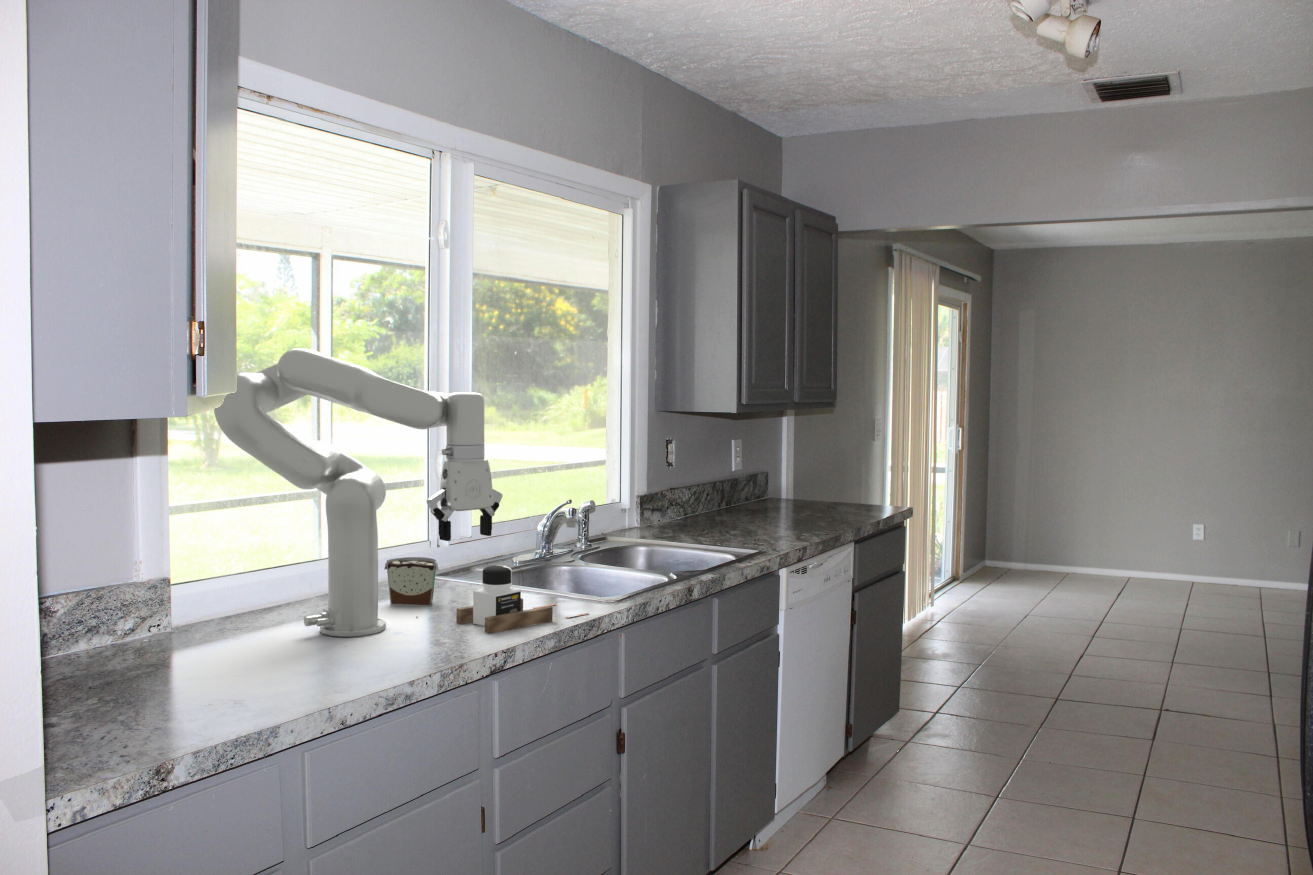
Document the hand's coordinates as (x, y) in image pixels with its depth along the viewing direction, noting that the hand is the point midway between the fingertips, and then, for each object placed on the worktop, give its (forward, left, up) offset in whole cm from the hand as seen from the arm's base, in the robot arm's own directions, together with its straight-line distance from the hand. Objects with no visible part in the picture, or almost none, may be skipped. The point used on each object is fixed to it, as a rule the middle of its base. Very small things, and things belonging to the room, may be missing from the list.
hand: (465, 537), depth 193 cm
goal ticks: (+25, 0, -19) cm, 31 cm away
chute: (+10, 0, -19) cm, 21 cm away
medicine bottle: (+8, 0, -19) cm, 20 cm away
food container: (+5, +28, -19) cm, 34 cm away
